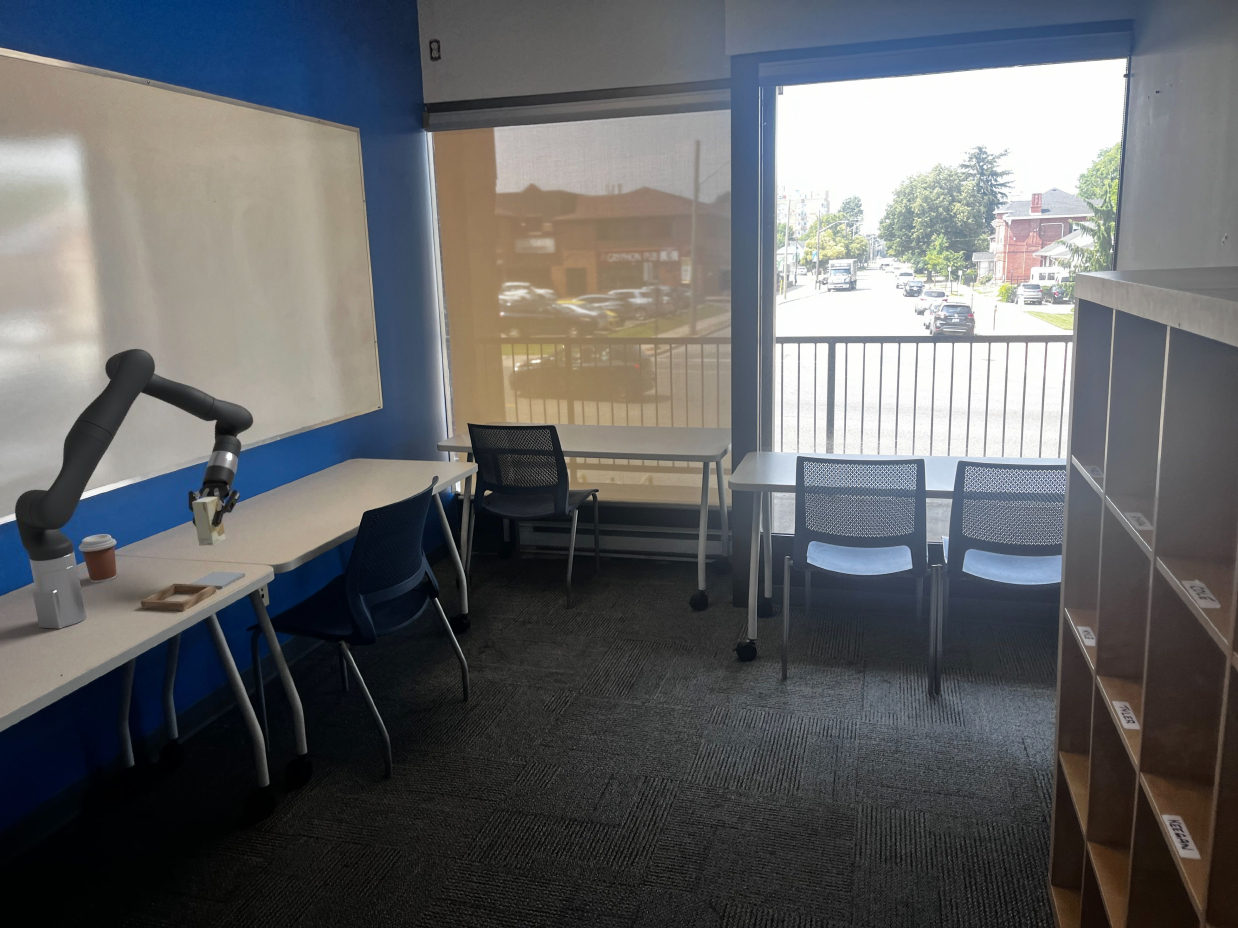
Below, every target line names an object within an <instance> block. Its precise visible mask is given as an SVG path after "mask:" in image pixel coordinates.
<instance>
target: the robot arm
mask: <svg viewBox="0 0 1238 928" xmlns="http://www.w3.org/2000/svg"><path fill="white" fill-rule="evenodd" d="M104 367H105V368H104V369H105V374H106V376H107V378H108V379H109V382H108V384H107V385H106V387H105V388H104V389H103V391H102V392H101V393H100V394H99V395H98V396H97V397H96V398H95V399H94V400H93V401H91V402H90V404H89V405H87V407H85V409H84V410H83V411H82V412H81V413H80V414H79V415H78V417H77V418H76V420H75V421H74V423H73V425H72V426H71V427H70V430H69V431H68V433H67V435H66V436H65V439H64V442H63V448H62V450H63V453H62V465H61V469H60V471H59V473H58V475H56V476H57V477H56V478H55V480H54V482H53V483H52V485H51V486H50V487H49V488H48V489H47V490H45V489H30V490H27V491H25V492H23V493H22V494H21V495H20V496H19V497H18V498H17V500H16V503H15V506H14V515H15V522H16V525H17V530H18V533H19V536H20V541H21V544H22V546H23V548H24V549H25V550H26V553H27V555H28V558H29V563H30V568H31V574H32V577H33V583H34V587H35V589H34V590H32V597H33V598H32V599H33V602H34V608H35V612H36V618H37V623H38V626H39V628H45V629H62V628H65V627H68V626H69V627H70V626H73V625H75V624H77V623H80V622H82V621H83V620H85V619H86V618H87V612H86V607H85V601H84V597H83V592H82V587H81V582H80V574H79V571H78V565H77V559H76V555H75V549H74V544H73V542H72V539H70V538H69V537H67V536H66V535H65V534H64V533H63V532H62V531H61V528H63V527H65V526H66V525H67V524H68V523H69V522H70V521H71V519H72V518H73V516H74V513H75V512H76V509H77V508H78V505H79V503H80V501H81V498H82V496H83V494H84V491H85V490H86V487H87V485H88V483H89V481H90V480H91V478H92V476H93V475H94V472H95V471H96V469H97V466H98V465H99V463H100V462H101V460H102V458H103V456H104V455H105V454H106V452H107V451H108V449H109V447H110V445H111V444H112V442H113V440H114V438H115V436H116V435H117V433H118V431H119V429H120V427H121V426H122V424H123V422H124V420H125V418H126V416H127V414H128V413H129V411H130V409H131V407H132V405H133V404H134V402H135V401H136V400H137V398H138V396H139V395H140V394H144V395H147V396H149V397H152V398H154V399H158V400H160V401H162V402H164V403H167V404H170V405H172V406H174V407H176V408H178V409H180V410H182V411H184V412H186V413H188V414H190V415H192V416H194V417H196V418H198V419H201V420H203V421H204V422H213V421H215V425H214V445H213V447H212V451H211V455H210V457H209V458H208V462H207V465H206V467H205V472H204V474H203V475H204V476H203V479H202V484H201V485H202V486H201V488H199V490H198V491H193V490H190V491H188V509H189V510H190V511H191V513H192V514H194V511H193V505H192V502H194V501H197V500H198V499H201V498H204V497H218V499H217V506H216V507H217V511H215V515H214V518H213V522H212V524H213V525H214V526H215V527H218V526H219V525H220V524H221V521H222V520H223V517H224V515H225V514H227V513H229V514H230V513H232V512H233V510H234V508H235V507H236V505H237V503H238V501H239V500H240V498H241V494H240V492H239V491H238V490H237V489H234V490H233V489H232V488H233V484H234V481H235V476H236V474H237V471H238V463H239V462H238V461H239V457H240V455H241V450H242V442H241V441H240V439H239V438H237V437H238V435H239V434H241V433H243V432H246V431H247V430H249V429H250V428H251V427H253V424H254V417H253V415H252V413H251V412H250V411H249V410H248V409H247V408H246V407H244V406H243V405H239V404H237V403H234V402H230V401H227V400H222V399H217V398H216V397H214V396H212V395H210V394H209V393H207V392H204V391H203V390H200V389H199V388H196V387H194V386H191V385H188V384H185V383H181V382H178V381H174V380H171V379H168V378H166V377H163V376H161V375H159V374H157V373H155V371H156V364H155V359H154V358H153V356H152V355H151V354H150V352H148V351H146V350H144V349H140V348H130V349H126V350H124V351H121V352H118V353H115V354H114V355H112V356H110V357H109V358H108V359H107V360H106V362H105V366H104ZM199 497H200V498H199ZM227 498H228V499H227ZM226 500H227V501H226ZM192 524H193V526H194V527H196V523H195V517H194V516H193V518H192Z"/></svg>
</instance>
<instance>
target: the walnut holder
mask: <svg viewBox="0 0 1238 928" xmlns="http://www.w3.org/2000/svg"><path fill="white" fill-rule="evenodd" d="M177 592H178V594H179V592H181V593H180V594H193V595H191V596H189V597H188V598H186V599H184V600H182V601H181V600H179V601H178V600H165V599H167V598H169V597H171V596H172V595H174V594H177ZM215 592H216V593H217V588H215V586H214V585H194V584H191V583H188V584H187V583H173V584H171V585H169V586H166V587H165V588H163V589H161V590H160V591H157V592H155V593H154V594H151V595H150V596H148V597H146V598H144V599H142V600H140V606H141V609H145V610H159V609H160V610H159V611H161V610H162V611H177V610H180V611H181V612H184V611H183V610H185V611H186V609H187V610H189V609H191V608H192V607H194V606H195V605H197V604H199V603H200V602H202V601H204V600H206V599H208V598H210V597H211V596H213V595H214V593H215ZM216 593H215V594H216ZM212 594H213V595H212ZM210 595H211V596H210ZM209 596H210V597H209Z"/></svg>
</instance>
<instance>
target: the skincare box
mask: <svg viewBox="0 0 1238 928" xmlns="http://www.w3.org/2000/svg"><path fill="white" fill-rule="evenodd" d="M200 498H201V497H200ZM200 498H198V500H197V501H194V502H192V505H193V511H194V513H193V517H195V523H196V526H195V529H196V535H197V541H198V545H199V546H202V547H203V546H215V545H217V544H218V543H220V542H223V541H224V540H226V533H225V527H224V522H223V519H222V521H221V524H220V525H219V526H218V527H215V526H214V525H213V524H212V522H213V518H214V515H215V511H217V507H216V506H217V499H218V497H204V498H201V499H200Z"/></svg>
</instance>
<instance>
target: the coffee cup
mask: <svg viewBox="0 0 1238 928" xmlns="http://www.w3.org/2000/svg"><path fill="white" fill-rule="evenodd" d="M81 542H82V543H80V544H79V546H78V550H79V551H80V552H82V555H83V558H84V561H85V565H86V569H87V572H88V576H89V581H90V582H91V583H93V584H97V583H99V582H100V583H106V582H109V580H110V581H113V580H115V579H116V578H117V577H118V575H117V574H118V572H117V564H116V563H117V562H116V552H115V550H116V549H115V546H116V545H117V543H118V542H117V540H116V539H115V538H113V537H112V536H111V535H110V534H108V533H107V534H106V533H103V534H101V533H100V534H93V535H90V536H87V537H85V538H83V539H82V540H81ZM116 576H117V577H116ZM114 578H115V579H114ZM112 579H113V580H112ZM105 581H106V582H105ZM100 583H99V584H100Z"/></svg>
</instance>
